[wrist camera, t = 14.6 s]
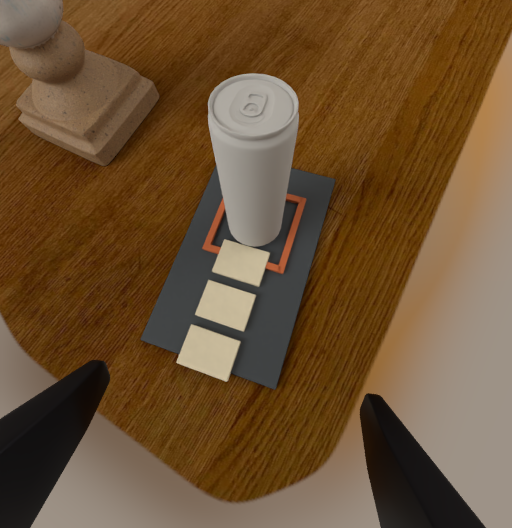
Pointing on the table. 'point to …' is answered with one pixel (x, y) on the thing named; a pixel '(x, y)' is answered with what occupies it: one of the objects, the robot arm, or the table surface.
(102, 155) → the candle holder
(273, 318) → the word mat
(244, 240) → the beverage can
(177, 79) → the table surface
